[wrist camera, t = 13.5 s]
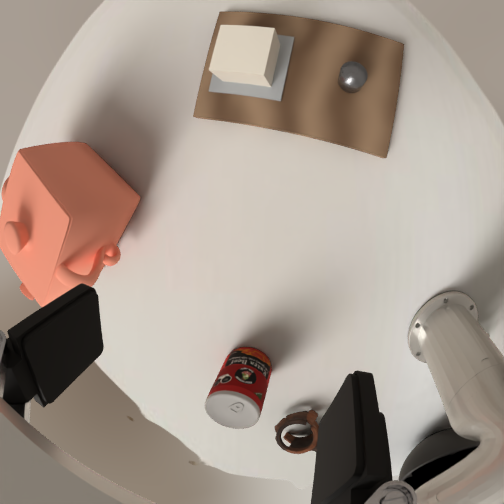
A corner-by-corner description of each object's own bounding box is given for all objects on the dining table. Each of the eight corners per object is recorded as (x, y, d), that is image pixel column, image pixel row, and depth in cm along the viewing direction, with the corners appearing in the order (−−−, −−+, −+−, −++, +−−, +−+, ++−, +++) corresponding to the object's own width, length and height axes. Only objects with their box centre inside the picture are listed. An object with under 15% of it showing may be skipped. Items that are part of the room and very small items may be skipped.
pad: (294, 38, 27) (294, 36, 26) (280, 101, 30) (280, 100, 29) (224, 31, 28) (223, 30, 28) (209, 91, 31) (208, 91, 31)
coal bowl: (380, 462, 47) (382, 527, 30) (422, 411, 41) (440, 489, 23) (443, 458, 44) (454, 513, 27) (488, 408, 37) (512, 469, 20)
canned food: (279, 355, 42) (267, 406, 32) (263, 386, 45) (249, 435, 35) (233, 338, 43) (210, 385, 33) (221, 371, 46) (199, 417, 36)
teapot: (106, 312, 48) (43, 364, 31) (39, 234, 47) (-27, 262, 30) (168, 212, 39) (79, 249, 22) (81, 128, 38) (-6, 130, 21)
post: (364, 74, 27) (369, 65, 23) (360, 96, 28) (365, 89, 24) (339, 68, 27) (342, 58, 24) (335, 89, 28) (338, 81, 25)
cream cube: (280, 45, 27) (274, 28, 22) (271, 87, 29) (263, 75, 24) (232, 40, 28) (220, 24, 23) (222, 81, 30) (208, 70, 25)
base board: (400, 48, 25) (403, 44, 24) (383, 158, 31) (386, 158, 29) (223, 16, 28) (219, 11, 27) (197, 117, 34) (193, 116, 32)
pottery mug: (271, 429, 49) (262, 445, 42) (294, 394, 50) (288, 406, 42) (322, 453, 45) (320, 472, 38) (347, 418, 46) (349, 434, 38)
